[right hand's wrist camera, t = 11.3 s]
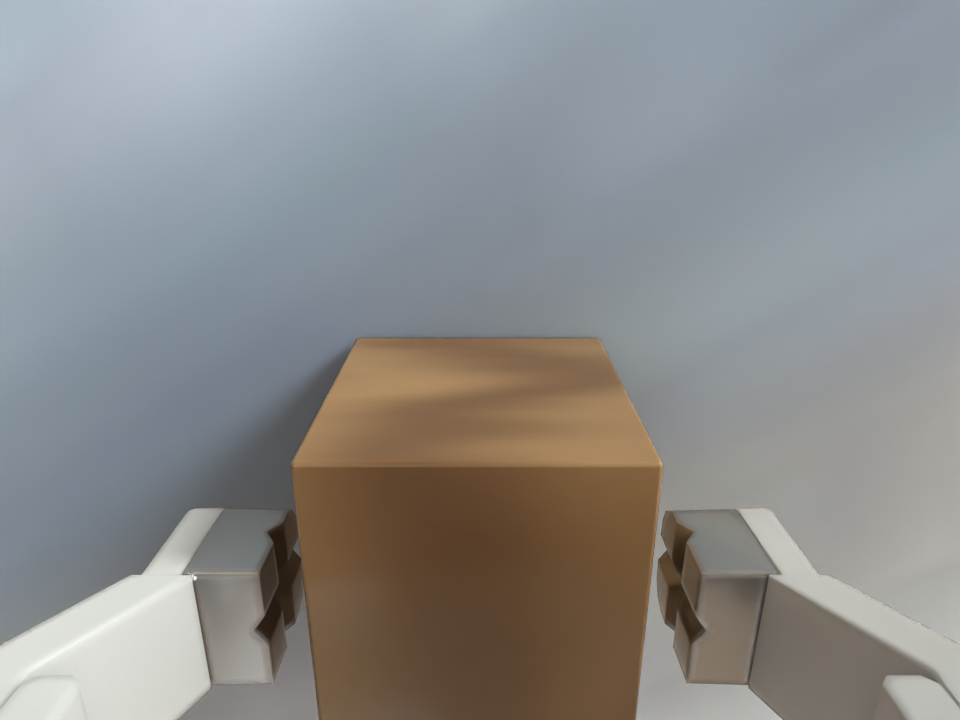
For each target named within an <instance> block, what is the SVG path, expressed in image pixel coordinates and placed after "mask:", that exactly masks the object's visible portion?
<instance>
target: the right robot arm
mask: <svg viewBox="0 0 960 720" xmlns="http://www.w3.org/2000/svg"><path fill="white" fill-rule="evenodd" d="M661 536H662V538H663V541H664V543H665V546H666V548H667V551H666V552H665V553H664V554H663V555H662V556H661V557H660V558H659V559H658V568H657V592H658V600H659V605H660V610H661V613H662V616H663V619H664V622H665V624H666V625H668V626H669V627H670V628H671V629H673V630H674V631H675V636H674V644H673V647H674V650H675V653H676V655H677V658H678V661H679V664H680V666H681V669H682V672H683V674H684V677H685V680H686V683H700V684H735V685H749V687H748V688H749V689H750V690H751V691H752V692H754V693H755V694H756V695H757V696H758V697H759V698H760V699H761V700H762V701H763V702H764V703H765V704H767V705H768V706H769V707H770V708H771V709H772V710H773V711H774V712H775V713H776V714H777V715H778V716H779V717H781V718H782V719H783V720H960V645H959V644H957V643H955V642H954V641H952V640H950V639H948V638H946V637H944V636H942V635H941V634H939V633H937V632H935V631H933V630H931V629H929V628H927V627H926V626H924V625H922V624H920V623H918V622H916V621H914V620H913V619H911V618H909V617H907V616H905V615H903V614H901V613H900V612H898V611H896V610H894V609H892V608H890V607H888V606H886V605H885V604H883V603H881V602H879V601H877V600H875V599H873V598H872V597H870V596H868V595H866V594H864V593H862V592H860V591H859V590H857V589H855V588H853V587H851V586H849V585H847V584H845V583H844V582H842V581H840V580H838V579H836V578H834V577H832V576H831V575H819V574H818V573H817V571H816V570H815V569H814V567H813V566H812V565H811V563H810V562H809V561H808V559H807V558H806V557H805V555H804V554H803V553H802V551H801V550H800V548H799V547H798V546H797V544H796V543H795V542H794V540H793V539H792V538H791V536H790V535H789V534H788V532H787V531H786V529H785V528H784V527H783V525H782V524H781V523H780V521H779V520H778V519H777V517H776V516H775V515H774V513H773V512H772V511H771V510H769V509H767V508H745V509H723V510H680V511H666V512H665V515H664V518H663V522H662V530H661ZM297 538H298V529H297V520H296V514H295V513H294V511H293V510H281V509H232V508H228V509H225V508H195V509H192V510H189V511H188V512H187V513H186V514H185V516H184V517H183V518H182V520H181V521H180V522H179V524H178V525H177V526H176V528H175V529H174V531H173V532H172V533H171V535H170V536H169V537H168V539H167V540H166V541H165V543H164V544H163V546H162V547H161V548H160V550H159V551H158V552H157V554H156V555H155V557H154V558H153V559H152V561H151V562H150V563H149V565H148V566H147V567H146V569H145V570H144V572H143V573H142V574H141V575H130V576H128V577H126V578H124V579H122V580H120V581H118V582H116V583H115V584H113V585H111V586H109V587H107V588H105V589H103V590H101V591H100V592H98V593H96V594H94V595H92V596H90V597H88V598H87V599H85V600H83V601H81V602H79V603H77V604H75V605H73V606H72V607H70V608H68V609H66V610H64V611H62V612H60V613H58V614H57V615H55V616H53V617H51V618H49V619H47V620H45V621H44V622H42V623H40V624H38V625H36V626H34V627H32V628H30V629H29V630H27V631H25V632H23V633H21V634H19V635H17V636H16V637H14V638H12V639H10V640H8V641H6V642H4V643H2V644H1V645H0V720H178V719H179V718H180V717H181V716H182V715H183V714H184V713H185V712H186V711H187V710H189V709H190V708H191V707H192V706H193V705H194V704H195V703H196V702H197V701H198V700H199V699H200V698H202V697H203V696H204V695H205V694H206V693H207V692H208V691H209V690H210V689H211V685H224V684H259V683H274V680H275V678H276V675H277V672H278V669H279V667H280V664H281V661H282V658H283V656H284V653H285V650H286V648H287V644H286V635H285V631H286V630H287V629H289V628H290V627H291V626H293V625H294V624H295V622H296V619H297V616H298V613H299V610H300V606H301V599H302V593H303V573H302V564H301V558H300V557H299V556H298V555H297V554H296V553H295V552H294V550H293V548H294V546H295V543H296V541H297Z"/></svg>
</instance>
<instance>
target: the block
mask: <svg viewBox="0 0 960 720" xmlns="http://www.w3.org/2000/svg"><path fill="white" fill-rule="evenodd" d="M290 467H291V476H292V484H293V493H294V502H295V511H296V520H297V529H298V538H299V547H300V555H301V564H302V573H303V582H304V591H305V600H306V609H307V617H308V626H309V635H310V644H311V653H312V662H313V671H314V680H315V688H316V697H317V706H318V715H319V720H636V711H637V702H638V693H639V684H640V674H641V665H642V656H643V647H644V638H645V628H646V619H647V610H648V601H649V592H650V582H651V573H652V564H653V555H654V546H655V536H656V527H657V518H658V509H659V500H660V490H661V481H662V472H663V463H662V461H661V459H660V457H659V455H658V453H657V451H656V449H655V447H654V445H653V443H652V441H651V439H650V437H649V435H648V433H647V431H646V429H645V427H644V426H643V424H642V422H641V420H640V418H639V416H638V414H637V412H636V410H635V408H634V406H633V404H632V402H631V400H630V398H629V396H628V394H627V392H626V390H625V388H624V386H623V384H622V382H621V380H620V378H619V376H618V374H617V372H616V370H615V368H614V366H613V364H612V362H611V361H610V359H609V357H608V355H607V353H606V351H605V349H604V347H603V345H602V343H601V341H600V339H598V338H358V339H356V341H355V343H354V345H353V347H352V349H351V351H350V353H349V354H348V356H347V358H346V360H345V362H344V364H343V366H342V368H341V369H340V371H339V373H338V375H337V377H336V379H335V381H334V383H333V385H332V386H331V388H330V390H329V392H328V394H327V396H326V398H325V400H324V402H323V403H322V405H321V407H320V409H319V411H318V413H317V415H316V417H315V419H314V420H313V422H312V424H311V426H310V428H309V430H308V432H307V434H306V435H305V437H304V439H303V441H302V443H301V445H300V447H299V449H298V451H297V452H296V454H295V456H294V458H293V460H292V462H291V465H290Z"/></svg>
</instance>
